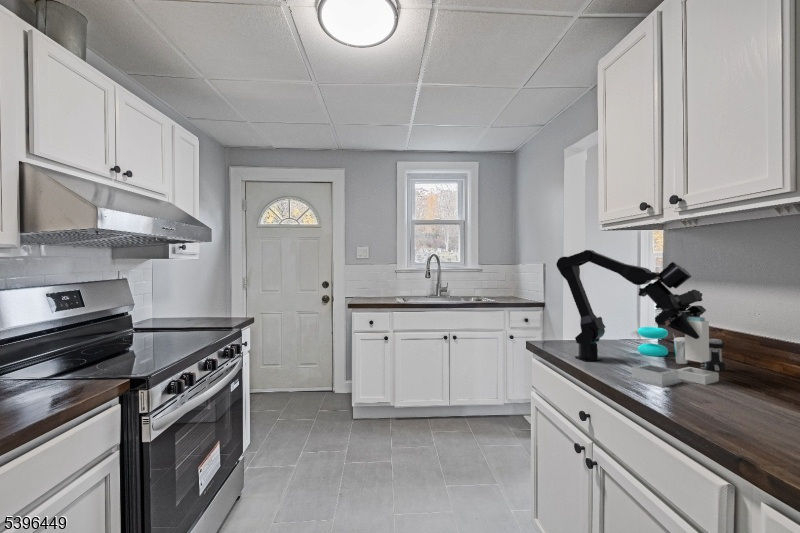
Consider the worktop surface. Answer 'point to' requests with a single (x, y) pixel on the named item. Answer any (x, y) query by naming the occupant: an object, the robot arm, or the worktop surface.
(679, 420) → the worktop surface
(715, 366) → the black and grey device
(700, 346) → the plug
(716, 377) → the grey square tray
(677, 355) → the milkshake
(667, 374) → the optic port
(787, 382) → the worktop surface
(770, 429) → the worktop surface
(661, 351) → the donuts
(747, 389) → the worktop surface
